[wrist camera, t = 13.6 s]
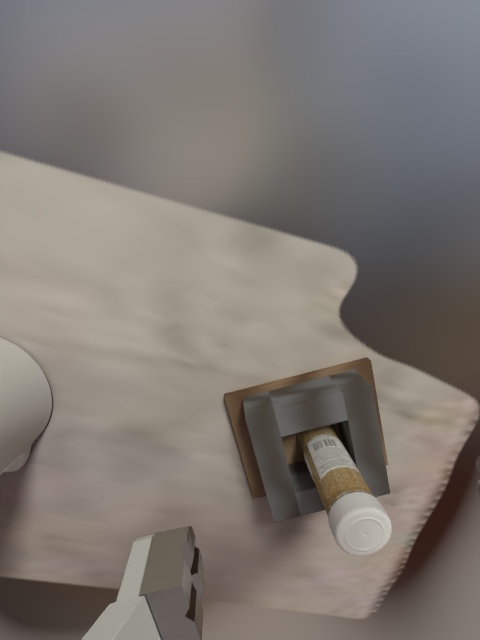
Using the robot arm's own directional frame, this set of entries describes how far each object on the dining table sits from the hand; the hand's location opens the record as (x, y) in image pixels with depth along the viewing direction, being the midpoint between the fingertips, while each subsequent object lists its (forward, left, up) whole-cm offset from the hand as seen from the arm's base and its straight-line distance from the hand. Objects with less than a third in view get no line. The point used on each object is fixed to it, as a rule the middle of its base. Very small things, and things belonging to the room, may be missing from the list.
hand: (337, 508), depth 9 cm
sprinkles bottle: (+4, -16, -26) cm, 31 cm away
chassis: (+3, -16, -27) cm, 31 cm away
